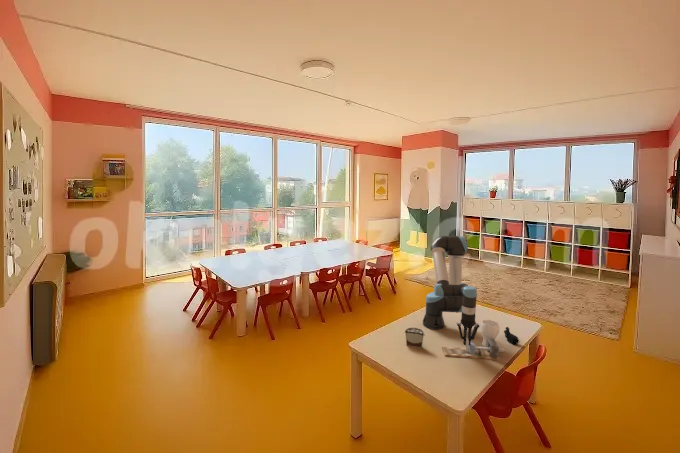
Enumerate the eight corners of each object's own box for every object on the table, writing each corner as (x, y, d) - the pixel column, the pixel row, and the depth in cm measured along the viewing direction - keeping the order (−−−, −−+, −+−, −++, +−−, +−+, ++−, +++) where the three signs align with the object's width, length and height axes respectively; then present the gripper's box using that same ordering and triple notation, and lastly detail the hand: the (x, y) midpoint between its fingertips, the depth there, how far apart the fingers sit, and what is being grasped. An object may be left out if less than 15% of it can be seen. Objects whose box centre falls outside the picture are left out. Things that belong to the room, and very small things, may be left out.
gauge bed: (444, 356, 191) (445, 343, 189) (442, 348, 199) (442, 335, 198) (498, 359, 187) (499, 346, 185) (492, 351, 196) (493, 338, 194)
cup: (499, 351, 196) (500, 328, 194) (480, 348, 199) (481, 325, 197) (497, 343, 206) (498, 320, 203) (479, 340, 209) (480, 318, 207)
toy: (519, 346, 202) (519, 336, 201) (511, 345, 202) (511, 335, 201) (507, 334, 217) (508, 325, 216) (500, 334, 218) (501, 325, 217)
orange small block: (481, 355, 188) (481, 353, 188) (480, 354, 190) (480, 352, 190) (483, 355, 188) (483, 354, 188) (482, 354, 190) (482, 352, 190)
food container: (424, 343, 205) (425, 328, 204) (424, 348, 200) (424, 333, 198) (405, 340, 209) (405, 326, 208) (404, 345, 204) (404, 330, 202)
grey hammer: (471, 355, 189) (471, 347, 188) (468, 349, 195) (468, 341, 195) (506, 357, 186) (506, 349, 185) (502, 351, 193) (502, 343, 192)
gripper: (458, 314, 187) (456, 352, 190) (482, 315, 185) (479, 353, 188) (455, 309, 194) (453, 346, 197) (478, 310, 192) (475, 347, 196)
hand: (466, 349), depth 193 cm, fingers closed
